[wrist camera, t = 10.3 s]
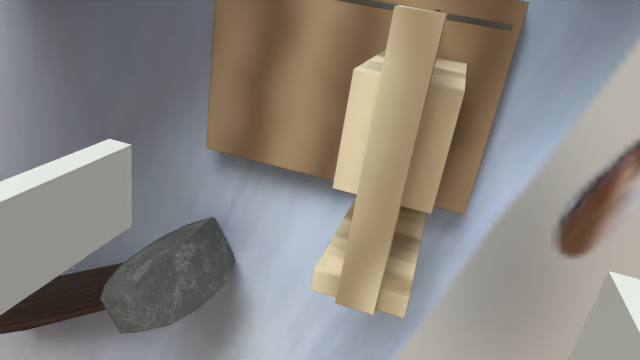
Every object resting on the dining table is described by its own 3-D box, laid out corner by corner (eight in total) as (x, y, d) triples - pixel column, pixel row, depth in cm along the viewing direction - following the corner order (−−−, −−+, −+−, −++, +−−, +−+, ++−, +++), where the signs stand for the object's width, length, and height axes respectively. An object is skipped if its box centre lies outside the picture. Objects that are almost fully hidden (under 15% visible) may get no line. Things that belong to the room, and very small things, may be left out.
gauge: (360, 198, 37) (307, 294, 25) (401, -2, 31) (358, -1, 19) (425, 215, 36) (402, 324, 24) (479, 12, 30) (485, 21, 18)
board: (218, 141, 39) (205, 148, 37) (231, -46, 34) (217, -49, 32) (464, 203, 35) (464, 214, 33) (525, 2, 30) (529, 2, 28)
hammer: (63, 298, 57) (253, 255, 42) (-33, 364, 48) (167, 340, 32) (41, 263, 56) (228, 207, 41) (-61, 324, 47) (133, 279, 31)
